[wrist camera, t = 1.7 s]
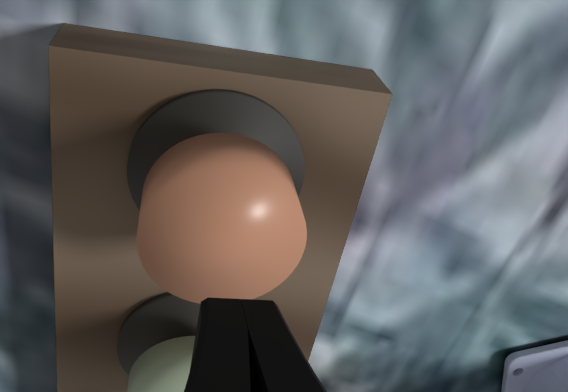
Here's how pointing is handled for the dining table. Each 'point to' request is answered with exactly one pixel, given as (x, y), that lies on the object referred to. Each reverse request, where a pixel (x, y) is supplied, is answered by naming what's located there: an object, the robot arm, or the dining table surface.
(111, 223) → the button panel
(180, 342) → the button sage
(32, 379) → the dining table surface
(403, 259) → the dining table surface
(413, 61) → the dining table surface
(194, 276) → the button terracotta
